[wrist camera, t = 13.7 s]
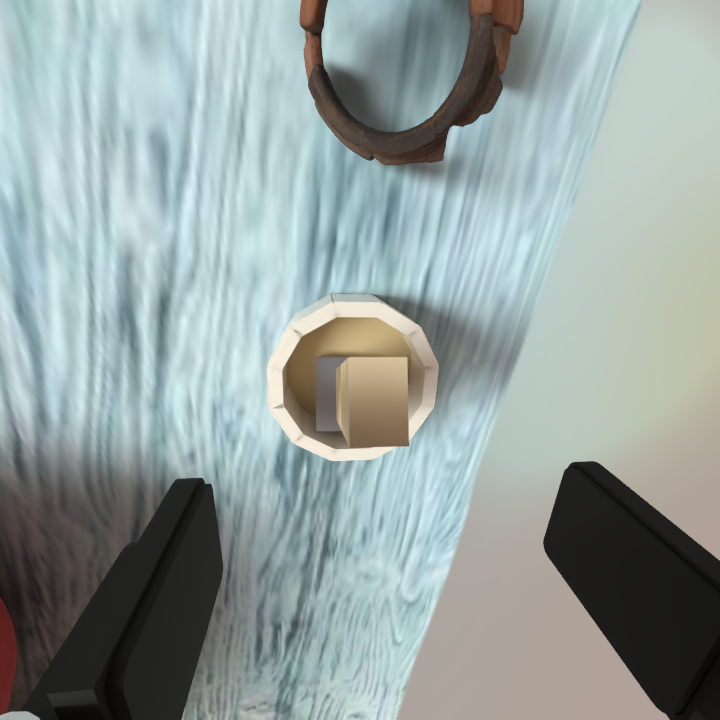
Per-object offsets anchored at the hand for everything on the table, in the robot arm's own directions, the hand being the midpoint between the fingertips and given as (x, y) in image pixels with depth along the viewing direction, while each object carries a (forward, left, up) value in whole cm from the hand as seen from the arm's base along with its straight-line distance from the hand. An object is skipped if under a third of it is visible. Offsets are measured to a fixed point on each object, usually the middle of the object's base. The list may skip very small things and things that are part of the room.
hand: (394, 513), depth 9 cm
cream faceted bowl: (+1, 0, -14) cm, 14 cm away
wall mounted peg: (+2, 0, -13) cm, 13 cm away
